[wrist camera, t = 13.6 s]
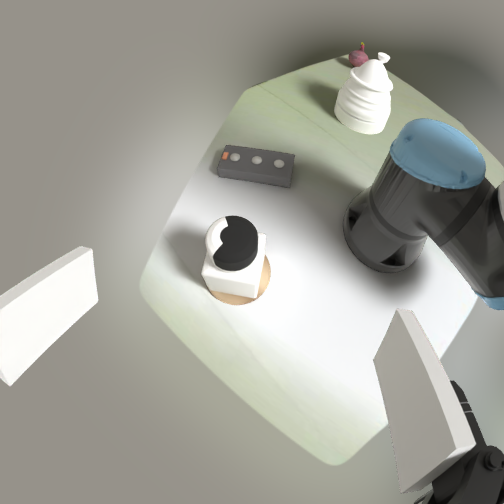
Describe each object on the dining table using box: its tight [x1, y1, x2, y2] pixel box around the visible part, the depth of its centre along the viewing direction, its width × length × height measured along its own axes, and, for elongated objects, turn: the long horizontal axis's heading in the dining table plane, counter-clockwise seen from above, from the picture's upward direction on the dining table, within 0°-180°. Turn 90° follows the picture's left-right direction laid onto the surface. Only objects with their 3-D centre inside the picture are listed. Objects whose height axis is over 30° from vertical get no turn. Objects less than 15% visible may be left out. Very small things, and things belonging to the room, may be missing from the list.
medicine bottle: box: [201, 216, 266, 298], centre depth 37 cm, size 7×7×12 cm
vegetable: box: [349, 43, 369, 67], centre depth 65 cm, size 6×6×10 cm
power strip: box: [217, 145, 295, 188], centre depth 50 cm, size 13×6×3 cm, turn 78°
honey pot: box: [334, 53, 393, 134], centre depth 50 cm, size 13×13×18 cm
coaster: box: [206, 255, 271, 305], centre depth 43 cm, size 10×10×1 cm
